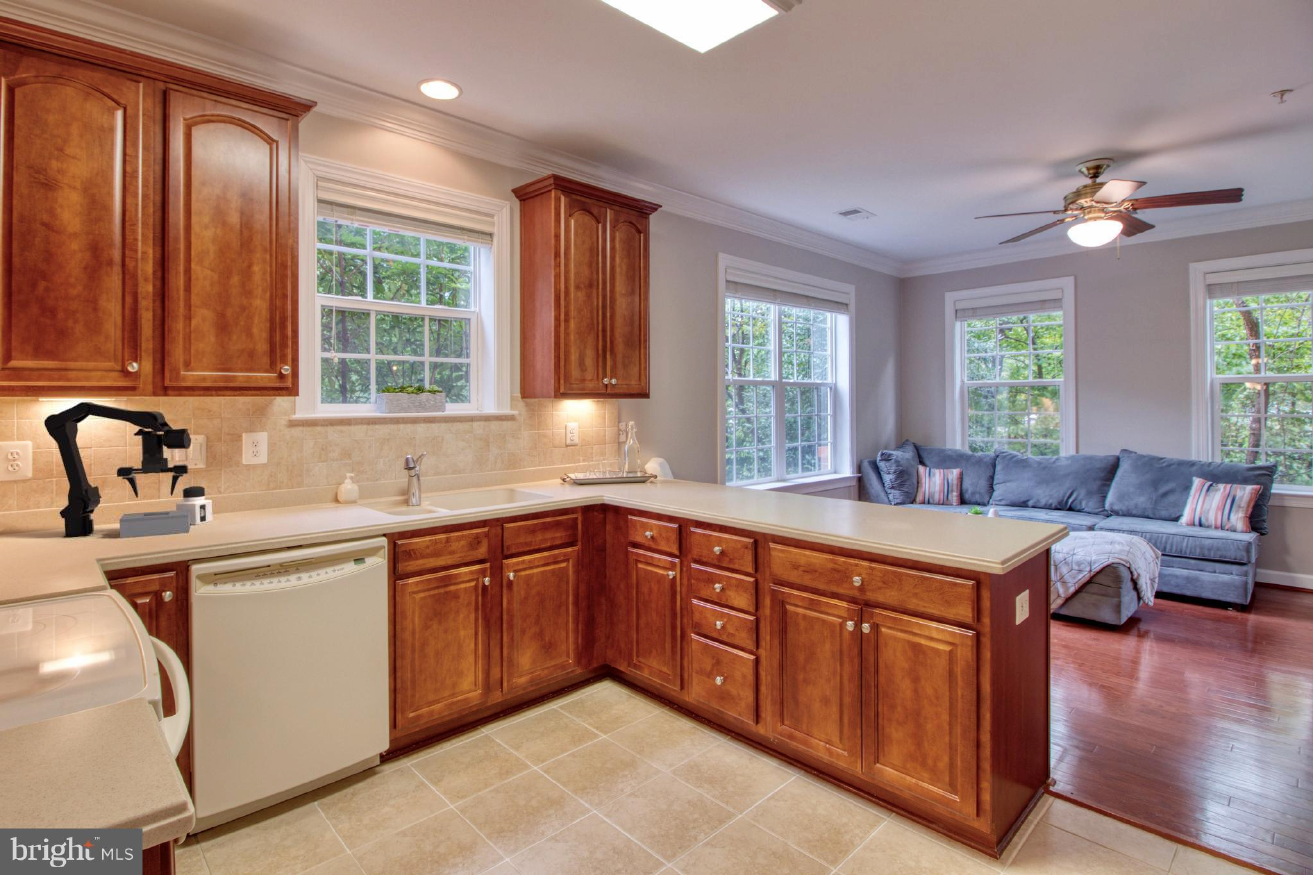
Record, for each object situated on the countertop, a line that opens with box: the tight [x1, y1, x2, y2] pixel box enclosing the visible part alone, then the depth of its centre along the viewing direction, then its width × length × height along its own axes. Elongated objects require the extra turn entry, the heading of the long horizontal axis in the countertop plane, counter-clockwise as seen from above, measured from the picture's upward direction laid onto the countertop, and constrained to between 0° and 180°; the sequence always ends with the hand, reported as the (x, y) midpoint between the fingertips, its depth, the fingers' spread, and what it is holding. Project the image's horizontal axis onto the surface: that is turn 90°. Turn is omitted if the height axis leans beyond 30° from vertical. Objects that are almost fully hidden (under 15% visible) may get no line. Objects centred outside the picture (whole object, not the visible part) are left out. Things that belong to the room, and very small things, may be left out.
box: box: [119, 509, 191, 539], centre depth 228 cm, size 18×12×6 cm, turn 122°
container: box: [175, 485, 213, 526], centre depth 245 cm, size 8×8×13 cm
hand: (154, 496), depth 227 cm, fingers open, 9 cm apart
